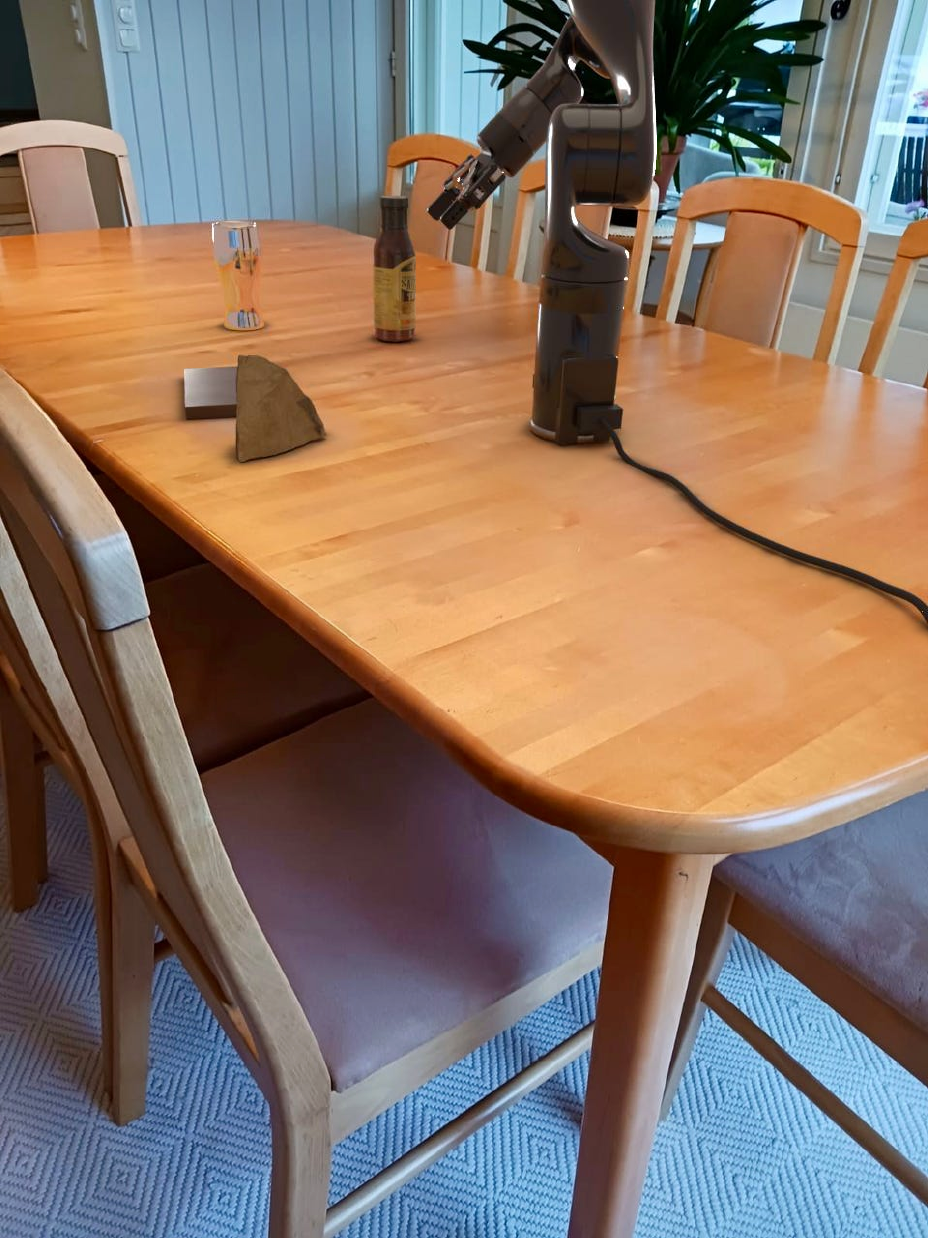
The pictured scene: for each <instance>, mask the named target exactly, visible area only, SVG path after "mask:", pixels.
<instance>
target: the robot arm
mask: <svg viewBox="0 0 928 1238" xmlns="http://www.w3.org/2000/svg"><path fill="white" fill-rule="evenodd" d="M566 4H567V8H568V11H569V14H570V15H569V17H568V18H567V20H566V22H565V24H564V25H563V27H562V30H561V31H560V33H559V35H558V36H557V39H556V40H555V42H554V44H553V47H552V48H551V50H550V52H549V54H548V56H547V57H546V59H545V61H544V63H543V64H542V66H541V67H540V68H539V69H538V70H537V71H536V72H535V74H533V75H532V77H531V78H530V79H529V80H528V81H527V82H526V84H524V86H523V87H522V88H521V89H520V90H519V91H517V92H516V93H515V94H514V95H513V96H512V97H511V98H509V100H507V102H506V103H505V104H504V105H503V106H502V108H500V110H499V111H498V112H497V113H496V114H495V115H494V116H493V117H492V118H491V120H489V122H488V123H487V124H486V125H485V127H484V128H482V129H481V130H480V132H479V133H478V134H477V135H476V142H477V144H478V146H479V147H480V149H481V153H479V154H478V155H477V156H476V157H475V156H474V155H473V154H472V153H471V154H469V155H468V156H467V157H466V159H464V161H462V162H461V164H460V165H459V166H458V167H457V168H456V169H455V170H454V171H453V172H452V174H450V176H449V177H447V179H446V180H444V182H443V183H442V184H443V188H442V192H441V193H440V194H438V196H437V197H436V199H435V200H433V202H432V203H431V204H430V205H429V206H428V207H427V209H426V212H427V213H428V215H429V216H430V217H431V218H432V219H433V220H434V221H436V222H437V221H439V222H441V224H442V225H443V226H444V227H445V228H446V229H447V230H451V231H452V230H453V229H455V227H456V226H457V224H458V223H459V222H460V221H461V220H462V219H463V218H464V217H465V216H466V215H467V214H468V212H471V211H473V210H479V209H481V207H482V206H483V205H484V203H485V202H486V201H487V200H488V199H489V198H490V196H492V194H493V193H494V192H495V191H496V190H497V189H498V188H499V186H500V185H501V184H502V183H503V182H504V181H505V180H506V178H507V177H508V178H514V177H515V176H516V175H517V174H518V173H519V172H520V171H521V170H522V169H523V168H524V167H525V166H526V164H528V162H530V160H531V159H532V158H533V157H534V156H535V155H536V154H537V152H538V151H539V150H540V149H542V147H543V146H544V145H545V160H544V161H545V162H544V163H545V164H544V165H545V167H544V168H545V169H544V170H545V171H544V173H545V174H544V175H545V176H544V177H545V178H544V186H545V187H544V224H543V225H544V226H543V241H542V253H541V263H540V279H539V296H538V297H539V298H538V309H537V310H538V311H537V325H536V326H537V327H536V339H535V340H536V342H535V358H534V371H533V372H534V373H533V374H532V407H531V417H530V423H529V424H530V425H529V428H530V431H531V432H532V433H533V434H534V435H536V436H538V437H540V438H542V439H545V440H549V441H553V442H554V443H556V444H557V445H561V446H562V445H576V444H591V443H604V442H610V441H612V442H613V446H614V448H615V451H616V453H617V455H618V456H619V457H620V458H621V459H622V460H623V462H625V463H626V464H628V465H629V466H631V467H634V468H635V469H638V470H640V471H642V472H644V473H646V474H648V475H649V476H652V477H654V478H658V479H661V480H663V481H665V482H667V483H670V484H671V485H672V486H674V487H675V488H676V489H678V490H679V491H680V492H681V493H682V494H683V495H684V496H685V497H686V498H687V499H688V500H689V501H690V503H691V504H692V505H693V506H695V507H696V509H698V510H699V511H701V512H702V513H703V514H704V515H705V516H707V517H709V518H710V519H712V520H713V521H714V522H716V523H718V524H719V525H721V526H723V527H725V528H726V529H728V530H730V531H732V532H734V533H736V534H738V535H740V536H742V537H744V538H745V539H748V540H750V541H753V542H755V543H757V544H759V545H761V546H764V547H766V548H768V549H770V550H773V551H775V552H776V553H777V552H778V553H780V554H782V555H784V556H786V557H789V558H792V559H795V560H797V561H801V562H803V563H807V564H809V565H813V566H816V567H819V568H822V569H826V570H829V571H831V572H834V573H838V574H841V575H844V576H846V577H848V578H851V579H854V580H857V581H859V582H862V583H864V584H866V585H868V586H871V587H872V588H874V589H877V590H879V591H881V592H884V593H886V594H888V595H891V596H894V597H896V598H898V599H901V600H904V601H906V602H908V603H909V604H911V605H913V606H914V608H916V609H917V610H918V611H919V613H920V614H921V615H922V617H923V619H924V620H925V622H926V624H927V625H928V604H927V603H926V602H925V601H924V600H923V599H921V598H920V597H918V596H917V595H915V594H914V593H912V592H910V591H908V590H906V589H903V588H900V587H897V586H895V585H892V584H889V583H887V582H885V581H883V580H880V579H878V578H876V577H873V576H872V575H870V574H867V573H865V572H863V571H860V570H858V569H854V568H852V567H850V566H846V565H843V564H839V563H836V562H834V561H831V560H827V559H824V558H820V557H817V556H814V555H812V554H808V553H806V552H802V551H800V550H797V549H794V548H791V547H789V546H787V545H783V544H782V543H780V542H777V541H775V540H772V539H770V538H767V537H765V536H763V535H760V534H758V533H756V532H754V531H751V530H749V529H747V528H745V527H743V526H741V525H740V524H737V523H736V522H733V521H732V520H730V519H728V518H726V517H724V516H722V515H721V514H720V513H718V512H716V511H715V510H713V509H711V508H710V507H709V506H707V505H706V504H705V503H703V502H702V501H701V500H700V499H699V498H698V497H697V496H696V495H695V493H693V492H692V490H691V489H690V488H689V487H688V486H686V485H685V484H684V483H683V482H682V481H680V480H678V479H677V478H676V477H674V476H672V475H671V474H669V473H667V472H664V471H662V470H659V469H654V468H651V467H649V466H645V465H642V464H640V463H638V462H637V461H636V460H634V459H632V457H630V456H629V455H628V454H627V452H625V449H624V448H623V446H622V442H621V440H620V438H619V435H618V434H617V433H616V431H615V430H621V429H622V424H623V423H622V422H623V414H624V408H622V407H621V406H620V405H619V404H617V403H615V399H616V388H617V378H618V372H619V371H618V370H619V363H620V362H619V359H620V349H621V340H622V339H621V338H622V329H623V321H624V312H625V303H626V294H627V284H628V277H629V276H628V275H629V266H630V254H629V251H628V250H627V248H625V247H624V246H623V245H621V244H620V243H617V242H615V241H613V240H610V239H607V238H605V237H603V236H600V235H598V233H595V232H594V231H591V230H590V229H589V228H587V227H586V226H585V225H584V224H583V223H581V221H579V219H578V218H577V216H576V212H575V211H576V207H603V208H604V207H608V208H610V207H612V208H628V207H635V206H639V205H641V204H642V203H643V202H644V201H646V199H647V198H648V195H649V193H650V192H651V189H652V186H653V182H654V177H655V172H656V171H655V170H656V160H657V122H656V121H657V120H656V103H655V102H656V101H655V100H656V99H655V80H654V78H655V77H654V29H655V27H654V23H655V9H656V8H655V7H656V0H566ZM580 60H581V61H582V62H584V63H585V64H586V65H587V66H588V67H590V68H591V69H592V70H593V71H594V72H595V73H597V74H598V75H599V76H601V77H603V78H605V79H609V80H610V82H611V85H612V87H613V90H614V93H615V96H616V101H617V103H616V104H615V103H586V102H585V103H581V101H582V100H583V96H584V88H583V86H582V83H581V81H580V80H579V78H578V76H577V74H576V73H575V68H576V66H577V64H578V62H579V61H580ZM922 611H923V612H922Z"/></svg>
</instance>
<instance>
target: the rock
mask: <svg viewBox="0 0 928 1238" xmlns="http://www.w3.org/2000/svg"><path fill="white" fill-rule="evenodd" d="M236 367H237V373H236V394H237V397H236V403H237V408H236V417H235V420H236V421H235V445H234V446H235V456H236V459H237V460H238V462H240V463H245V462H247V461H248V460H252V459H258V458H266V457H271V456H276V455H279V454H282V453H285V452H287V451H290V450H293V449H294V448H297V447H301V446H303V445H306V444H307V443H309V442H313V441H316V440H318V439H322V438H323V437H326V436H327V432H326V430H325V425H324V423H323V421H322V419H321V417H320V414H319V413H318V411H317V408H316V406H315V404H314V401H313V400H312V399H311V398H310V397H309V396H308V395H307V394H305V392H304V391H303V390H302V389H301V388H300V386H299V385H298V383H297V382H296V381H295V380H294V378H292V376H291V373H290V372H289V370H288V369H286V368H285V367H283V366H280V365H279V364H276V363H275V362H273V361H270V360H269V359H267V358H266V357H264V356H261V355H258V354H247V355H244V354H238V356H237V366H236Z"/></svg>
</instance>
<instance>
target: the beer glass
mask: <svg viewBox="0 0 928 1238" xmlns="http://www.w3.org/2000/svg"><path fill="white" fill-rule="evenodd" d="M211 226H212V249H213V258H214V264H215V268H216V273H217V277H218V281H219V284H220V288H221V291H222V295H223V301H224V319H223V321H224V323H223V326H224V328H225V329H227V330H229V331H238V332H239V331H241V332H246V331H254V330H255V331H256V330H260V329H262V328H263V327H265V323H264V317H263V315H262V311H261V305H260V304H261V303H260V290H261V277H262V251H261V243H260V235H259V230H258V223H257V222H255V221H251V220H220V221H216V222H215V221H214V222H213V223H212V224H211Z"/></svg>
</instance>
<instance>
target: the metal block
mask: <svg viewBox="0 0 928 1238" xmlns="http://www.w3.org/2000/svg"><path fill="white" fill-rule="evenodd" d="M183 369H184V371H183V372H184V373H183V375H184V377H183V378H184V412H185V413H184V414H185V419H186V420H200V419H201V420H203V419H217V418H219V419H220V418H221V419H222V418H237V417H236V408H237V403H236V397H237V394H236V373H237V366H219V367H215V366H214V367H197V368H196V367H195V368H194V367H193V368H183Z"/></svg>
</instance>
